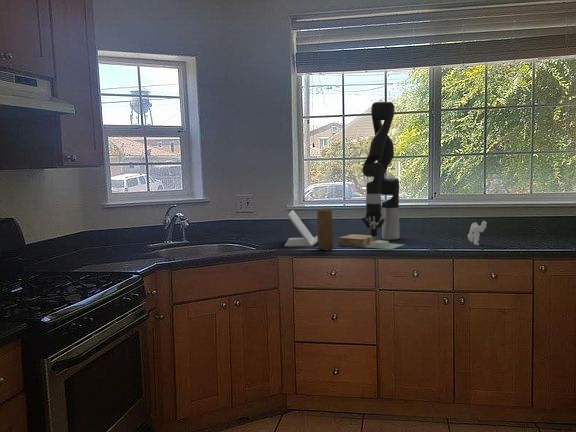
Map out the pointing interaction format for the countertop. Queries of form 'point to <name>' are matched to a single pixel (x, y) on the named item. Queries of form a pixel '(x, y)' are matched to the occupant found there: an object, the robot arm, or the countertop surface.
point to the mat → (390, 246)
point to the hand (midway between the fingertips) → (374, 236)
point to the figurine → (476, 232)
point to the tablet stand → (307, 239)
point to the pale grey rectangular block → (378, 243)
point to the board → (356, 240)
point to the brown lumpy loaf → (324, 229)
